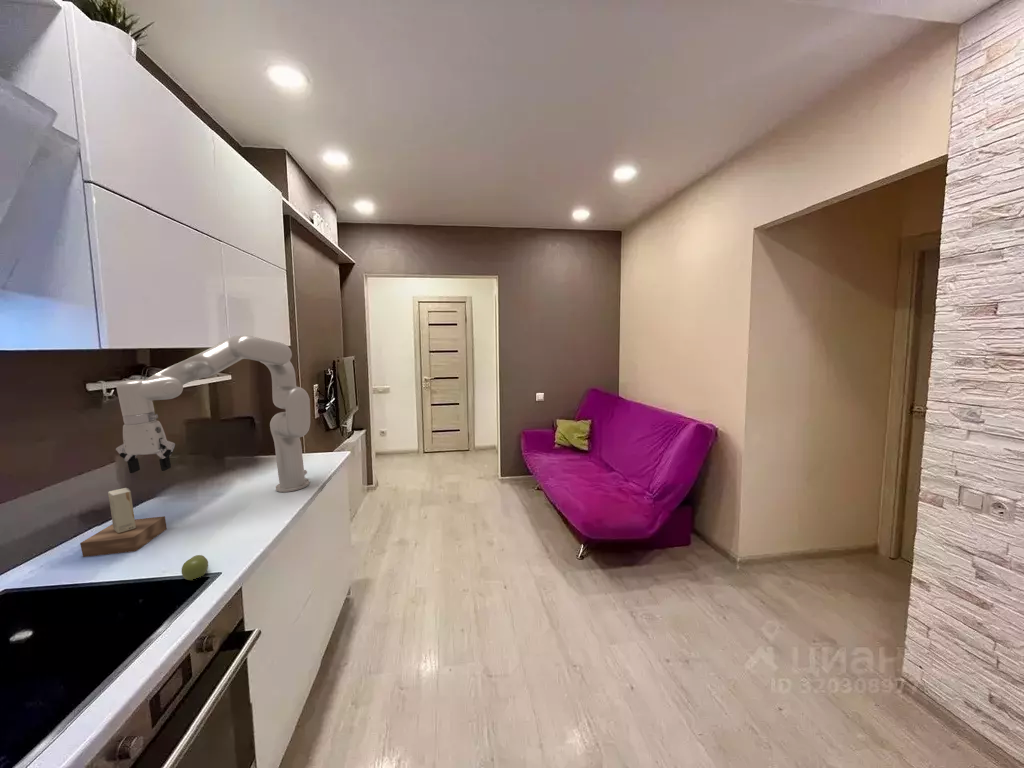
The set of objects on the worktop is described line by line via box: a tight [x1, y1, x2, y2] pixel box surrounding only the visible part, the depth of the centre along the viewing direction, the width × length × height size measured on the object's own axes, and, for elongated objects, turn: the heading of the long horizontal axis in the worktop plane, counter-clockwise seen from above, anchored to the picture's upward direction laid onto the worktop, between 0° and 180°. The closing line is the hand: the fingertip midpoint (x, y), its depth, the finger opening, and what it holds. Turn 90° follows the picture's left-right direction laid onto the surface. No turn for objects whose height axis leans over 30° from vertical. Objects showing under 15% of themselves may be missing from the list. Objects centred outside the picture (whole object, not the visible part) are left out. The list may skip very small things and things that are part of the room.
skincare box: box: [107, 487, 136, 533], centre depth 128 cm, size 6×4×12 cm
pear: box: [181, 554, 209, 581], centre depth 110 cm, size 6×5×10 cm
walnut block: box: [79, 516, 168, 558], centre depth 129 cm, size 14×14×5 cm
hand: (150, 470), depth 132 cm, fingers open, 9 cm apart
